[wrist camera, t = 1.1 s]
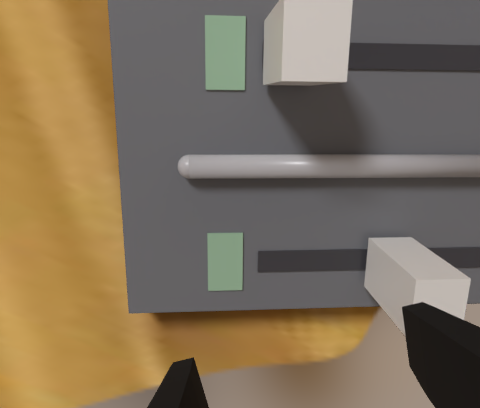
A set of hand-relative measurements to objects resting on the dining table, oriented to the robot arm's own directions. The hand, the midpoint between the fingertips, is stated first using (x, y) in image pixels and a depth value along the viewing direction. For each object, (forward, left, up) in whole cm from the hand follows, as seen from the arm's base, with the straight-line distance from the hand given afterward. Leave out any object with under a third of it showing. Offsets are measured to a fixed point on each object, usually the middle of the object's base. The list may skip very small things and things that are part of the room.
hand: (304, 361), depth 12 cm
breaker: (-1, -9, -7) cm, 11 cm away
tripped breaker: (-5, 0, -7) cm, 9 cm away
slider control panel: (-3, -5, -9) cm, 11 cm away
